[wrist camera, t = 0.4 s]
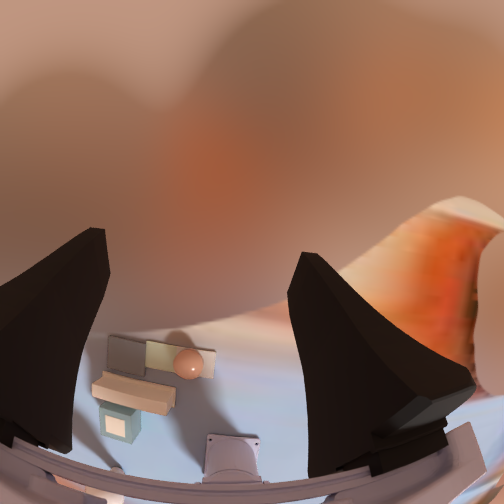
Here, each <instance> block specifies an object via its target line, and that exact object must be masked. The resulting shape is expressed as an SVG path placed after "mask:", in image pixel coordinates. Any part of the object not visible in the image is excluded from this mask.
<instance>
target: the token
mask: <svg viewBox="0 0 504 504" xmlns="http://www.w3.org/2000/svg"><path fill="white" fill-rule="evenodd" d="M203 366H204V360H203V357H202V356H201V354H200V353H199V352H198V351H196V350H194V349H184V350H182V351H180V352H179V353H178V354H177V356H176V357H175V358H174V361H173V368H174V370H175V372H176V374H177V375H178V376H180V377H181V378H184V379H194V378H196V377H198V376H199V375H200V374H201V372H202V369H203Z"/></svg>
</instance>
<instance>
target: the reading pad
mask: <svg viewBox="0 0 504 504" xmlns="http://www.w3.org/2000/svg"><path fill="white" fill-rule="evenodd" d="M145 358H146V343H141V342H136V341H132V340H127V339H123V338H119V337H115V336H111V335H110V336H109V337H108V358H107V367H108V368H111V369H115V370H119V371H122V372H126V373H130V374H134V375H139V376H143V377H144V376H145Z"/></svg>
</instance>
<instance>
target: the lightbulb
mask: <svg viewBox="0 0 504 504" xmlns="http://www.w3.org/2000/svg"><path fill="white" fill-rule="evenodd" d="M110 471H112V472H116V473H120V474H125V473H124V471H123V470H121V469H120V468H118V467H112V468H111V470H110ZM85 493H87V494H91V495H94V496H97V497H101V498H104V499H106V500H107V504H123V503H124V496H123V495H118V494H114V493H110V492H106V491H102V490H99V489H95V488H92V487H88V486H85Z"/></svg>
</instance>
